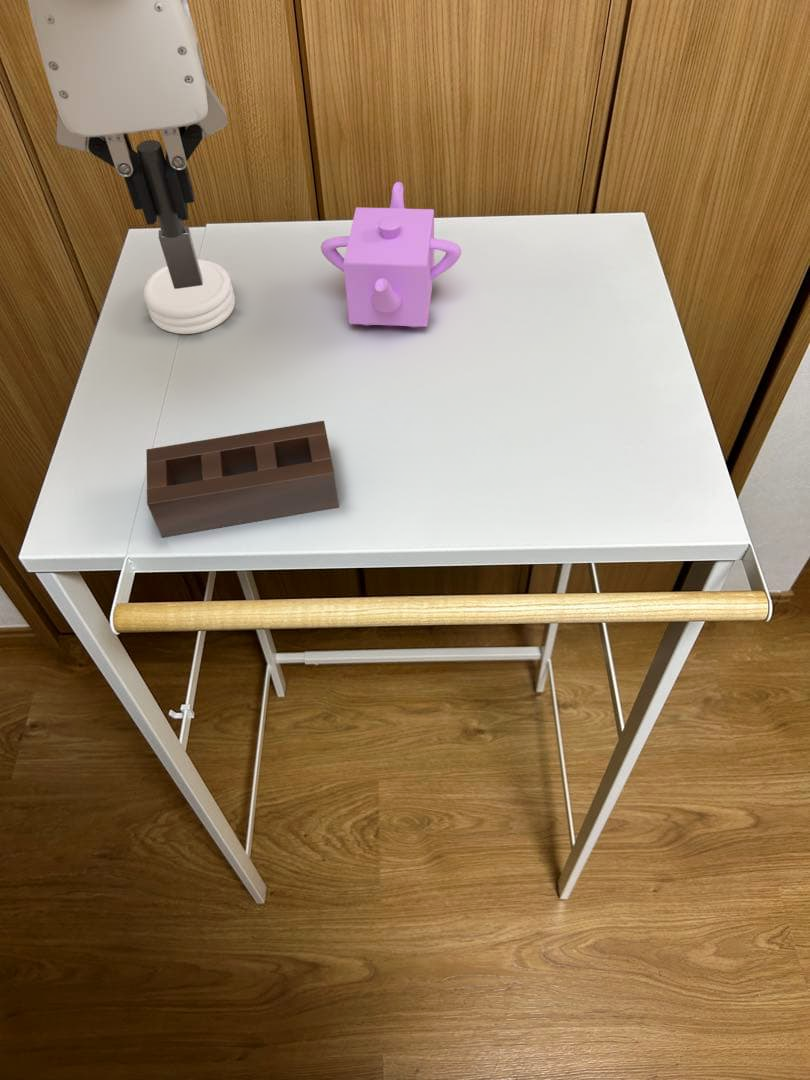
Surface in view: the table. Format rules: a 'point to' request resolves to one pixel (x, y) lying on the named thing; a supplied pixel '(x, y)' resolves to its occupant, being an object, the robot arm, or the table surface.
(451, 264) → the teapot
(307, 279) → the table surface
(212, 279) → the white round stack
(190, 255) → the grey handled tool
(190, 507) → the utensil block
